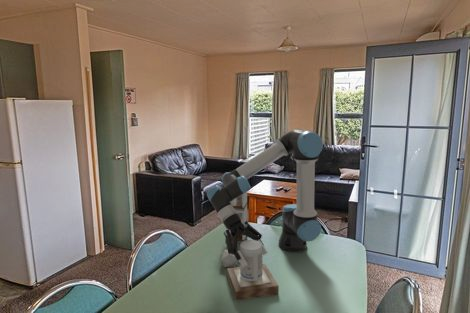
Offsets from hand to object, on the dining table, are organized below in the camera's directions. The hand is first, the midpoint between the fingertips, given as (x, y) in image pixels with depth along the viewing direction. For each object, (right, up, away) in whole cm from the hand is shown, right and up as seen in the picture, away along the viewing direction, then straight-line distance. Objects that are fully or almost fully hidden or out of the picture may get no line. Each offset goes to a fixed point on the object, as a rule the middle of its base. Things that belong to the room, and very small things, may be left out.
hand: (255, 259), depth 131 cm
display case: (-8, -4, +50) cm, 51 cm away
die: (-11, -10, +20) cm, 25 cm away
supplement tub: (-2, -8, +3) cm, 9 cm away
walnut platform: (-2, -12, +4) cm, 13 cm away
